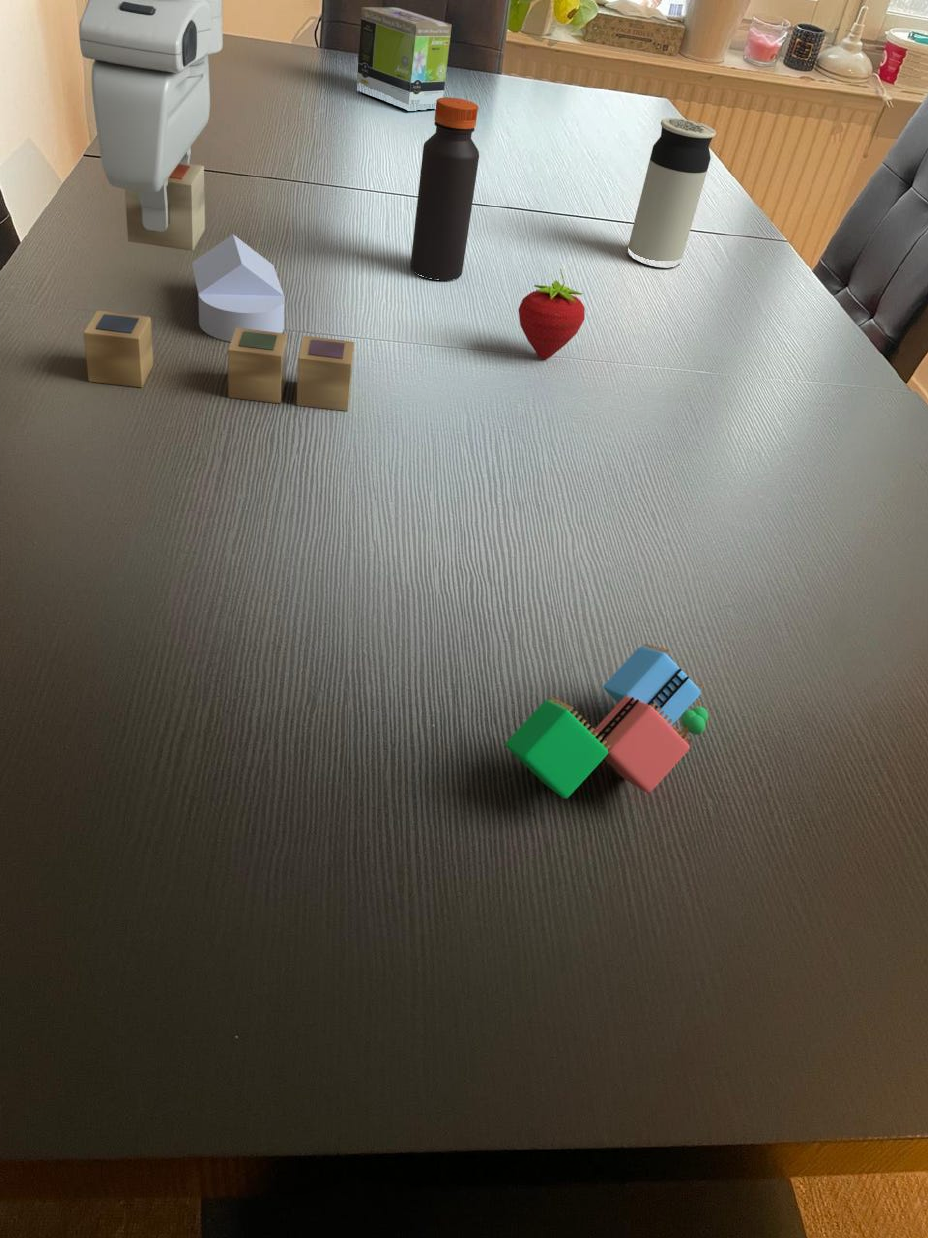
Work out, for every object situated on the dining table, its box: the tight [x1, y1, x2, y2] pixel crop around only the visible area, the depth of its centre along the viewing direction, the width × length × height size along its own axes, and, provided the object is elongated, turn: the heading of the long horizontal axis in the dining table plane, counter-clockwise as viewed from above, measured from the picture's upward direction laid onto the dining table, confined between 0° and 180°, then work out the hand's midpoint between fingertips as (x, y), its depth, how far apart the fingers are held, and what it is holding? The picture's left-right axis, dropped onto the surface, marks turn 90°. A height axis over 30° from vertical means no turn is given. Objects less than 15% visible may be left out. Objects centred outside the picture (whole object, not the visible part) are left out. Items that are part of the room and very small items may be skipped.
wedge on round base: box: [191, 233, 286, 343], centre depth 107 cm, size 9×7×13 cm
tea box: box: [356, 6, 453, 105], centre depth 188 cm, size 15×10×15 cm
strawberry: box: [518, 268, 586, 360], centre depth 109 cm, size 6×8×10 cm
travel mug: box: [627, 117, 717, 261], centre depth 138 cm, size 8×8×18 cm
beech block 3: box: [295, 335, 355, 412], centre depth 96 cm, size 5×5×5 cm
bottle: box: [410, 96, 480, 281], centre depth 121 cm, size 7×7×20 cm
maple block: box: [124, 162, 206, 252], centre depth 77 cm, size 5×5×5 cm
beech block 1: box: [83, 310, 154, 388], centre depth 94 cm, size 5×5×5 cm
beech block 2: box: [227, 328, 288, 404], centre depth 95 cm, size 5×5×5 cm
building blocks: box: [505, 643, 709, 800], centre depth 64 cm, size 8×8×12 cm
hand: (165, 214), depth 78 cm, fingers closed on maple block, 5 cm apart
